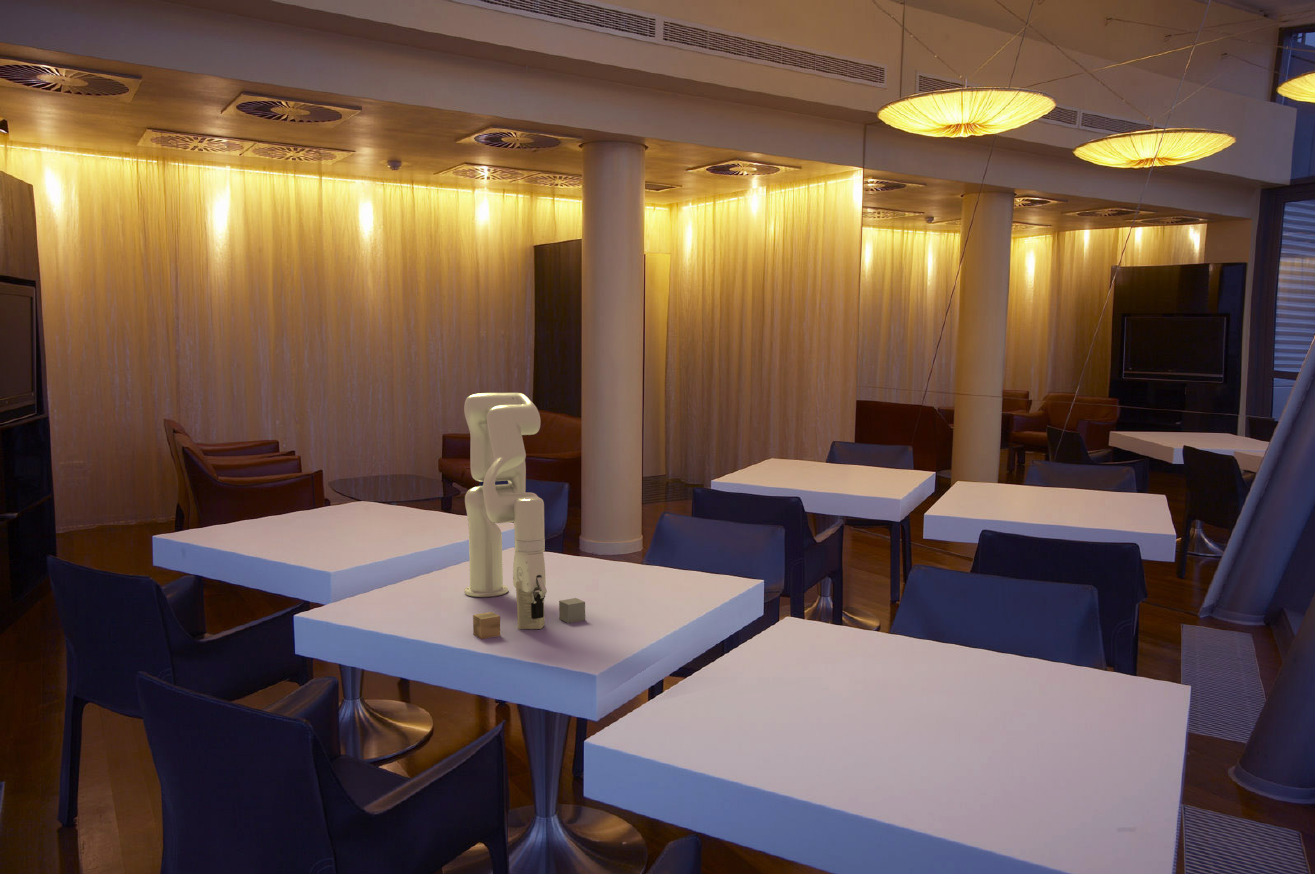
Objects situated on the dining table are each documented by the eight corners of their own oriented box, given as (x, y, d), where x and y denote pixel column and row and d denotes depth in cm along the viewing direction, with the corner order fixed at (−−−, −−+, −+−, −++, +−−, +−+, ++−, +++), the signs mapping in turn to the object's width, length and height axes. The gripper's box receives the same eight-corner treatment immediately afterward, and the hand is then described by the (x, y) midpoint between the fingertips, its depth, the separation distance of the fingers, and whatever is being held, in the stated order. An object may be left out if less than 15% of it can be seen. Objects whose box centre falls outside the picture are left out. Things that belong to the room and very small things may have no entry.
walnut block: (473, 634, 223) (473, 614, 223) (492, 631, 226) (491, 611, 226) (481, 639, 219) (480, 619, 219) (500, 635, 222) (500, 616, 222)
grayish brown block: (559, 619, 237) (559, 600, 236) (576, 616, 240) (575, 597, 239) (568, 623, 233) (568, 604, 232) (585, 620, 235) (585, 601, 235)
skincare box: (545, 624, 231) (544, 577, 230) (541, 629, 227) (540, 581, 226) (520, 624, 232) (519, 577, 231) (516, 629, 228) (515, 581, 227)
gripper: (501, 541, 233) (502, 609, 234) (531, 553, 219) (532, 624, 220) (528, 538, 237) (529, 605, 238) (558, 549, 223) (559, 620, 224)
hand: (530, 614), depth 229 cm, fingers closed on skincare box, 7 cm apart
